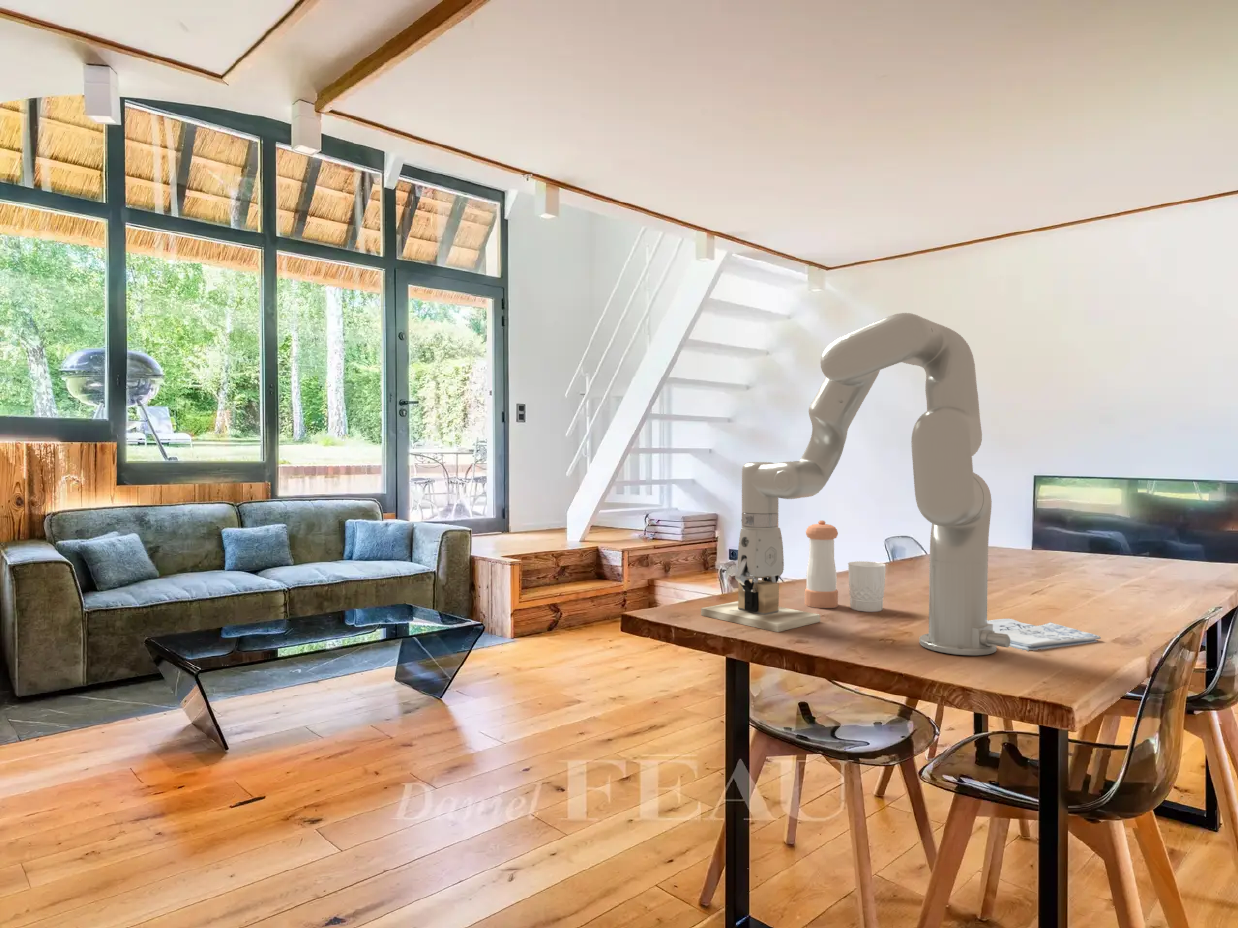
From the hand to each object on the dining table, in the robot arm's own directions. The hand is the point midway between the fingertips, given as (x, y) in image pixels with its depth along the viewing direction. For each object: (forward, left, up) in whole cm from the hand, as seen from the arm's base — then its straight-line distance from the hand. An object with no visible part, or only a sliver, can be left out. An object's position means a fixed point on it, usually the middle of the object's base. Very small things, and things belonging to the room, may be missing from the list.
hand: (759, 608), depth 163 cm
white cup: (-9, -26, -2) cm, 28 cm away
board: (0, 0, -2) cm, 2 cm away
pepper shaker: (0, -22, -2) cm, 22 cm away
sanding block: (0, 0, -1) cm, 1 cm away
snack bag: (-41, -27, -3) cm, 49 cm away
